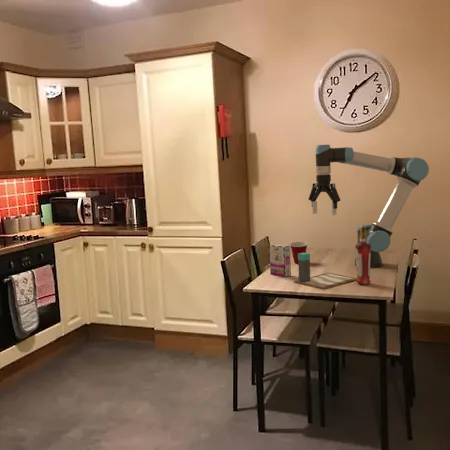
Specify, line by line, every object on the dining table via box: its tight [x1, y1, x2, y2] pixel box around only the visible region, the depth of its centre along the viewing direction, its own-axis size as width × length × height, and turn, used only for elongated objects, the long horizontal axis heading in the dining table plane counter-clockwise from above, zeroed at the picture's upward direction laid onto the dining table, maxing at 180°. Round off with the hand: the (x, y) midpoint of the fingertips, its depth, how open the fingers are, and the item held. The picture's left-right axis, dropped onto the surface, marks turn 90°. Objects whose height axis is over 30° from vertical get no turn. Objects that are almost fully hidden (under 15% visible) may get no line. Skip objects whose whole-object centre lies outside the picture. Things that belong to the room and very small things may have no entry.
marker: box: [297, 252, 311, 282], centre depth 257 cm, size 4×4×14 cm
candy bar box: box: [269, 243, 292, 278], centre depth 275 cm, size 11×5×16 cm, turn 40°
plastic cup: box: [289, 241, 309, 265], centre depth 303 cm, size 11×11×12 cm
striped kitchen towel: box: [293, 272, 357, 290], centre depth 258 cm, size 26×20×1 cm
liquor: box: [354, 227, 372, 286], centre depth 248 cm, size 7×7×28 cm
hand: (324, 214), depth 273 cm, fingers open, 13 cm apart
